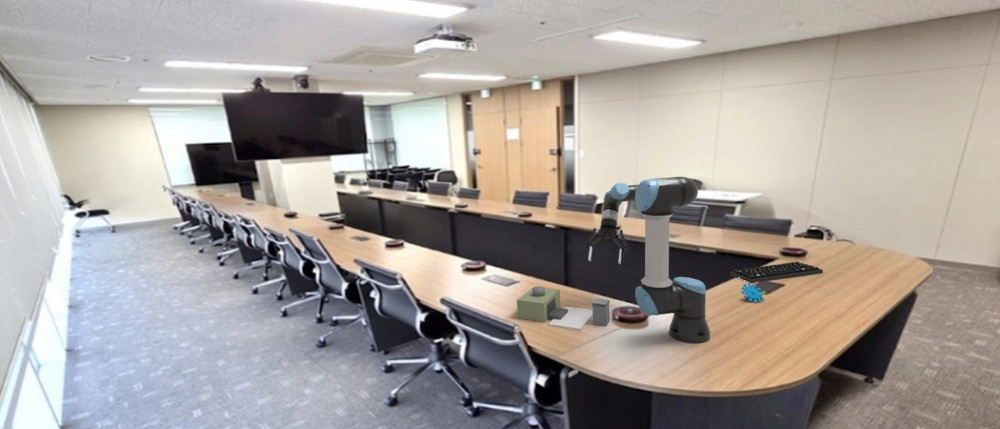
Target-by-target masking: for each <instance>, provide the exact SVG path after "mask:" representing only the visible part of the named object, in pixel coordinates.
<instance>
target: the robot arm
mask: <svg viewBox="0 0 1000 429" xmlns="http://www.w3.org/2000/svg"><path fill="white" fill-rule="evenodd" d="M698 194H699V189H698V185H697V184H696V182H695V181H694V180H692V179H691V178H688V177H686V176H685V177H684V176H673V177H671V176H670V177H660V178H658V177H657V178H656V177H655V178H649V179H644V180H641V181H640V182H639V184H631V185H628V184H626V183H624V182H622V181H620V182H616V183H615V184H614V185H613V186H612V187H611V188H610V190H608V191H606V192H605V194H604V197H603V204H602V206H603V207H602V212H601V213H602V214H601V221H600V226H599V227H600V228H599V229H598V228H597V229H596V227H594V228H593V229H592V231H591V233H590V234H589V236H588V237H587V238H586V240H585V242H584V247H586V248H587V251H586V252H587V255H588V258H587V260H588V262H591V261H592V255H593V254H592V253H593V246H595V245H596V244H597V243H598V242H600V241H601V240H613V241H614V242H615V244H616V245H617V246H618V248H619V252H618V253H619V255H618V265H622V264H621V263H622V262H621V261H622V258H625V252H626V251H629V250H630V248H629V244H628V242H627V240H626V238H625V236H624V230H623V229H620V230H617V228H618V217H619V209H620V206H621V204H622V203H624V202H625V203H626V202H634V203H635V206H636V208H637V209H638V210H639V211H640V212H641V213H640V214H641V215H642V216H643V217H644V219H645V221H644V222H645V223H644V224H645V228H644V229H645V232H644V234H645V235H644V237H645V238H644V240H645V241H644V242H645V244H644V245H645V247H644V249H645V250H644V255H645V256H644V258H645V259H644V261H645V262H644V265H645V266H644V272H645V273H644V277H642V279H641V280H640V282H641V283H640V286H637V287H636V288H635V290H634V291H635V292H634V293H635V294H634V295H635V300H636V303H637V306H638V308H639V309H640V311H641V312H642V314H644V315H645V316H661V315H669V314H673V316H672V318H671V321H670V325H669V330H668V333H669V335H670V336H671V337H672V336H673V337H674V338H673V337H672V338H673V339H675V338H676V340H677V339H678V341H680V340H682V341H681V342H684V341H686V342H685V343H690V342H693V344H696V342H697V344H698V342H700V343H705V342H707V341H709V340H710V339H711V330H710V328H709V324H708V321H707V318H706V298H707V297H706V295H707V292H706V284H705V283H704V282H702V281H701V280H699V279H695V278H692V277H685V276H678V277H677V276H676V277H673V280H671V279H670V277H669V273H670V272H669V271H670V270H669V269H670V267H669V266H670V262H669V260H670V257H669V256H670V218H671V217H672V216H674V212H675V211H674V209H676V208H683V207H686V206H689V205H690V204H692V203H693V202H695V200H696V199H697V197H698ZM596 234H598V235H597V236H596ZM617 235H618V236H620V239H621V241H622V243H621V241H620V240H619V239H618V237H617ZM594 237H595V238H594ZM704 341H705V342H704ZM694 342H695V343H694Z"/></svg>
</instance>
